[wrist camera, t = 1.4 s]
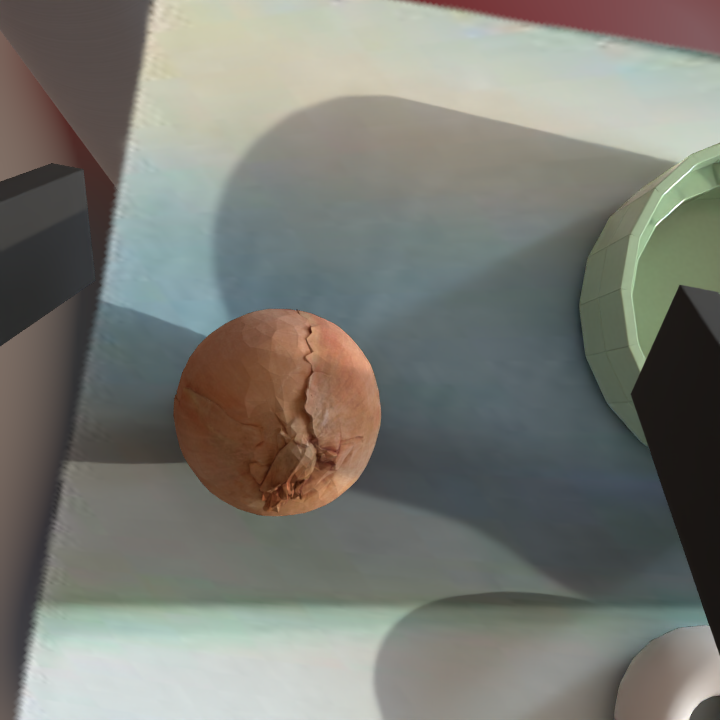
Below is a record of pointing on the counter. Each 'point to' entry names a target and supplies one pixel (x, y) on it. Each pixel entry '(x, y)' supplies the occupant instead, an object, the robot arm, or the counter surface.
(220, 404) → the onion
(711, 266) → the bowl
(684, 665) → the donut
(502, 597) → the counter surface
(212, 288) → the counter surface
